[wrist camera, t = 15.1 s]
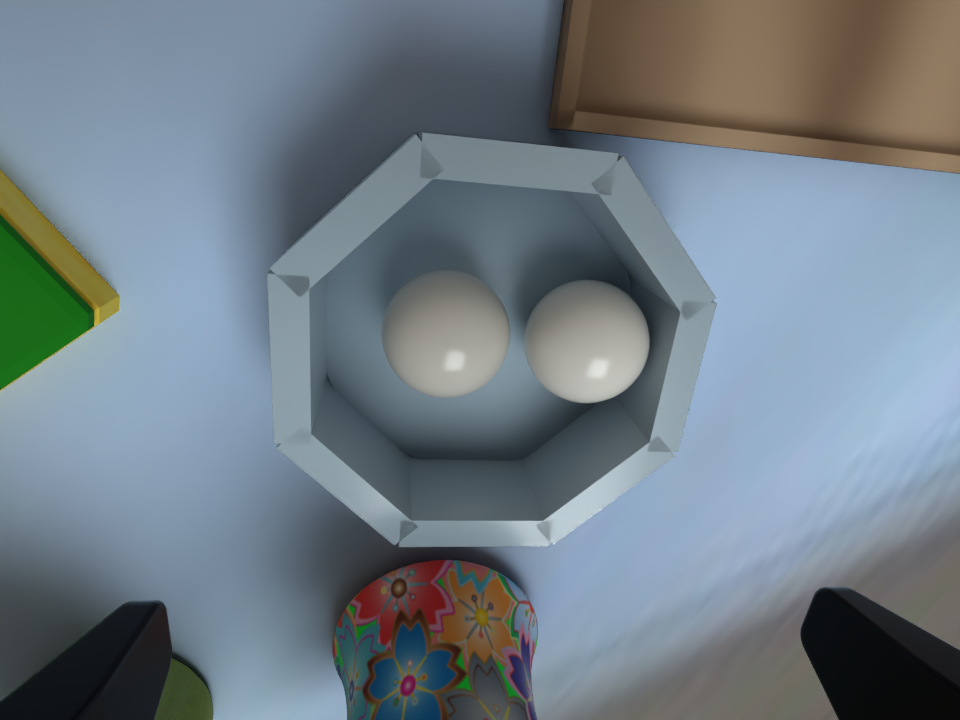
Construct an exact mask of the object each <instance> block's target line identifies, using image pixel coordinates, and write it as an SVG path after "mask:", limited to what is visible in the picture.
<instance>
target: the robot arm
mask: <svg viewBox="0 0 960 720" xmlns="http://www.w3.org/2000/svg"><path fill="white" fill-rule="evenodd" d="M800 635H801V641H802V645H803V647H804V649H805V651H806V653H807V655H808V657H809V659H810V662H811V664H812V666H813V668H814V670H815V672H816V674H817V676H818V678H819V680H820V682H821V684H822V686H823V688H824V690H825V692H826V694H827V696H828V698H829V701H830V703H831V705H832V707H833V709H834V711H835V713H836V715H837V717H838V719H839V720H960V650H958V649H957V648H955V647H953V646H951V645H950V644H948V643H946V642H944V641H942V640H941V639H939V638H937V637H935V636H934V635H932V634H930V633H928V632H927V631H925V630H923V629H921V628H920V627H918V626H916V625H914V624H913V623H911V622H909V621H907V620H905V619H904V618H902V617H900V616H898V615H897V614H895V613H893V612H891V611H890V610H888V609H886V608H884V607H883V606H881V605H879V604H877V603H876V602H874V601H872V600H870V599H868V598H867V597H865V596H863V595H861V594H860V593H858V592H856V591H854V590H852V589H850V588H847V587H823V588H820V589H819V590H817V591H816V592H815V594H814V596H813V599H812V601H811V604H810V606H809V609H808V611H807V613H806V616H805V618H804V621H803V623H802V626H801V631H800ZM171 658H172V646H171V639H170V631H169V624H168V617H167V610H166V607H165V605H164V603H163V602H161V601H157V600H156V601H130V602H127V603H125V604H123V605H121V606H120V607H119V608H117V609H116V610H115V611H113V612H112V613H111V614H110V615H108V616H107V617H106V618H105V619H103V620H102V621H101V622H100V623H98V624H97V625H96V626H95V627H93V628H92V629H91V630H90V631H88V632H87V633H86V634H85V635H83V636H82V637H81V638H80V639H78V640H77V641H76V642H74V643H73V644H72V645H71V646H69V647H68V648H67V649H66V650H64V651H63V652H62V653H61V654H59V655H58V656H57V657H56V658H54V659H53V660H52V661H51V662H49V663H48V664H47V665H46V666H44V667H43V668H42V669H40V670H39V671H38V672H37V673H35V674H34V675H33V676H32V677H30V678H29V679H28V680H27V681H25V682H24V683H23V684H22V685H20V686H19V687H18V688H17V689H15V690H14V691H13V692H12V693H10V694H9V695H8V696H6V697H5V698H4V699H3V700H1V701H0V720H154V719H155V715H156V712H157V709H158V706H159V702H160V699H161V696H162V692H163V689H164V686H165V682H166V679H167V676H168V672H169V669H170V664H171Z"/></svg>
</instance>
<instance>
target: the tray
mask: <svg viewBox="0 0 960 720" xmlns="http://www.w3.org/2000/svg"><path fill="white" fill-rule="evenodd" d="M548 128H552V129H562V130H571V131H580V132H589V133H598V134H607V135H616V136H625V137H634V138H643V139H652V140H661V141H670V142H679V143H688V144H697V145H706V146H715V147H724V148H733V149H742V150H751V151H760V152H769V153H778V154H787V155H796V156H805V157H814V158H823V159H832V160H841V161H850V162H859V163H868V164H878V165H887V166H896V167H905V168H914V169H923V170H932V171H941V172H950V173H959V174H960V0H564V7H563V15H562V23H561V30H560V38H559V45H558V53H557V61H556V68H555V76H554V83H553V91H552V98H551V106H550V114H549V121H548Z"/></svg>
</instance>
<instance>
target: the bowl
mask: <svg viewBox="0 0 960 720" xmlns="http://www.w3.org/2000/svg"><path fill="white" fill-rule="evenodd" d="M270 269H271V270H270V271H269V272H268V273H267V285H268V309H269V334H270V358H271V382H272V407H273V431H274V444H278V446H277V449H278V450H279V451H280V452H282V453H283V454H284V455H285V456H286V457H288V458H289V459H290V460H291V461H293V462H294V463H295V464H296V465H297V466H299V467H300V468H301V469H302V470H303V471H305V472H306V473H307V474H308V475H309V476H311V477H312V478H313V479H314V480H316V481H317V482H318V483H319V484H320V485H322V486H323V487H324V488H325V489H326V490H328V491H329V492H330V493H331V494H332V495H334V496H335V497H336V498H337V499H339V500H340V501H341V502H342V503H343V504H345V505H346V506H347V507H348V508H349V509H351V510H352V511H353V512H354V513H355V514H357V515H358V516H359V517H360V518H362V519H363V520H364V521H365V522H366V523H368V524H369V525H370V526H371V527H372V528H374V529H375V530H376V531H377V532H378V533H380V534H381V535H382V536H383V537H385V538H386V539H387V540H388V541H389V542H391V543H392V544H393V545H396V544H397V543H398V542H399V547H508V546H549V542H551V543H552V544H553V545H554V544H555V543H556V542H558V541H559V540H561V539H562V538H563V537H565V536H566V535H567V534H569V533H570V532H572V531H573V530H574V529H576V528H577V527H578V526H580V525H581V524H583V523H584V522H585V521H587V520H588V519H589V518H591V517H592V516H594V515H595V514H596V513H598V512H599V511H600V510H602V509H603V508H605V507H606V506H607V505H609V504H610V503H611V502H613V501H614V500H616V499H617V498H618V497H620V496H621V495H622V494H624V493H625V492H627V491H628V490H629V489H631V488H632V487H633V486H635V485H636V484H637V483H639V482H640V481H642V480H643V479H644V478H646V477H647V476H648V475H650V474H651V473H653V472H654V471H655V470H657V469H658V468H659V467H661V466H662V465H664V464H665V463H666V462H668V461H669V460H670V459H672V458H673V457H675V456H674V454H673V453H672V452H678V450H679V446H680V442H681V438H682V434H683V430H684V427H685V423H686V419H687V415H688V411H689V407H690V404H691V400H692V396H693V392H694V388H695V385H696V381H697V377H698V373H699V369H700V365H701V362H702V358H703V354H704V350H705V346H706V343H707V339H708V335H709V331H710V327H711V323H712V320H713V316H714V312H715V308H716V304H717V303H716V302H714V301H713V300H714V299H715V298H716V297H715V295H714V294H713V292H712V291H711V289H710V288H709V286H708V285H707V283H706V282H705V280H704V279H703V277H702V275H701V274H700V272H699V271H698V269H697V268H696V266H695V265H694V263H693V262H692V260H691V259H690V257H689V256H688V254H687V253H686V251H685V249H684V248H683V246H682V245H681V243H680V242H679V240H678V239H677V237H676V236H675V234H674V233H673V231H672V230H671V228H670V227H669V225H668V223H667V222H666V220H665V219H664V217H663V216H662V214H661V213H660V211H659V210H658V208H657V207H656V205H655V204H654V202H653V201H652V199H651V198H650V196H649V194H648V193H647V191H646V190H645V188H644V187H643V185H642V184H641V182H640V181H639V179H638V178H637V176H636V175H635V173H634V172H633V170H632V168H631V167H630V165H629V164H628V162H627V161H626V159H625V158H624V156H618V153H612V152H602V151H593V150H584V149H575V148H565V147H556V146H546V145H537V144H527V143H518V142H508V141H499V140H490V139H480V138H471V137H461V136H452V135H442V134H433V133H423V132H418V136H417V135H416V134H412V135H411V136H410V137H409V138H408V139H407V140H406V141H405V142H404V143H403V144H401V145H400V146H399V147H398V148H397V149H396V150H395V151H394V152H393V153H392V154H390V155H389V156H388V157H387V158H386V159H385V160H384V161H383V162H382V163H381V164H379V165H378V166H377V167H376V168H375V169H374V170H373V171H372V172H371V173H370V174H369V175H367V176H366V177H365V178H364V179H363V180H362V181H361V182H360V183H359V184H358V185H356V186H355V187H354V188H353V189H352V190H351V191H350V192H349V193H348V194H347V195H345V196H344V197H343V198H342V199H341V200H340V201H339V202H338V203H337V204H336V205H335V206H333V207H332V208H331V209H330V210H329V211H328V212H327V213H326V214H325V215H324V216H322V217H321V218H320V219H319V220H318V221H317V222H316V223H315V224H314V225H313V226H312V227H310V228H309V229H308V230H307V231H306V232H305V233H304V234H303V235H302V236H301V237H299V238H298V239H297V240H296V241H295V242H294V243H293V244H292V245H291V246H290V247H289V249H288V250H287V251H286V252H285V253H284V254H283V255H282V256H281V257H280V258H279V259H278V260H277V261H276V262H275V263H274V264H273V265H272V266H271V267H270ZM442 269H450V270H458V271H462V272H466V273H468V274H471V275H473V276H475V277H477V278H479V279H481V280H482V281H483V282H485V283H486V284H487V285H488V286H490V287H491V288H492V289H493V290H494V292H495V293H496V294H497V295H498V297H499V298H500V300H501V301H502V303H503V305H504V307H505V309H506V312H507V315H508V319H509V324H510V344H509V348H508V352H507V355H506V358H505V360H504V362H503V364H502V366H501V368H500V369H499V371H498V372H497V373H496V375H495V376H494V377H493V378H492V379H491V380H490V381H489V382H488V383H486V384H485V385H484V386H483V387H481V388H479V389H478V390H476V391H474V392H472V393H469V394H466V395H463V396H459V397H452V398H440V397H433V396H429V395H426V394H423V393H420V392H418V391H416V390H414V389H413V388H411V387H410V386H408V385H407V384H406V383H404V382H403V381H402V380H401V379H400V378H399V377H398V376H397V375H396V374H395V372H394V371H393V369H392V368H391V366H390V364H389V362H388V360H387V358H386V356H385V352H384V349H383V344H382V335H381V332H382V322H383V318H384V314H385V311H386V309H387V307H388V304H389V302H390V301H391V299H392V298H393V296H394V295H395V293H396V292H397V291H398V290H399V289H400V288H401V287H402V286H403V285H404V284H405V283H407V282H408V281H410V280H411V279H413V278H414V277H416V276H418V275H420V274H423V273H426V272H429V271H434V270H442ZM577 280H598V281H603V282H606V283H609V284H612V285H614V286H616V287H618V288H620V289H621V290H623V291H624V292H626V293H627V294H628V295H629V296H630V297H631V298H632V299H633V300H634V301H635V302H636V303H637V304H638V306H639V307H640V309H641V311H642V312H643V314H644V317H645V319H646V321H647V325H648V328H649V336H650V347H649V353H648V357H647V361H646V363H645V366H644V368H643V370H642V371H641V373H640V375H639V376H638V378H637V379H636V380H635V381H634V383H633V384H632V385H630V386H629V387H628V388H627V389H626V390H625V391H623V392H622V393H620V394H618V395H617V396H615V397H613V398H610V399H608V400H604V401H600V402H595V403H578V402H572V401H569V400H565V399H563V398H561V397H558V396H556V395H555V394H553V393H551V392H550V391H549V390H547V389H546V388H545V387H544V386H543V385H542V384H541V383H540V382H539V381H538V380H537V379H536V377H535V376H534V374H533V373H532V371H531V369H530V367H529V365H528V362H527V359H526V355H525V349H524V335H525V328H526V324H527V322H528V319H529V317H530V314H531V313H532V311H533V309H534V308H535V306H536V305H537V304H538V302H539V301H540V300H541V299H542V298H543V297H544V296H545V295H546V294H547V293H549V292H550V291H552V290H553V289H555V288H557V287H559V286H561V285H563V284H565V283H568V282H572V281H577Z"/></svg>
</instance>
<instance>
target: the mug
mask: <svg viewBox="0 0 960 720" xmlns="http://www.w3.org/2000/svg"><path fill="white" fill-rule="evenodd" d="M537 638H538V625H537V619H536V615H535V612H534V609H533V607H532V605H531V603H530V601H529V600H528V598H527V597H526V595H525V594H524V592H523V591H522V590H521V589H520V588H519V587H518V586H517V585H516V584H515V583H514V582H513V581H511V580H510V579H508V578H507V577H506V576H504V575H502V574H500V573H499V572H497V571H494V570H492V569H490V568H488V567H485V566H482V565H479V564H475V563H471V562H465V561H458V560H434V561H425V562H419V563H415V564H411V565H407V566H404V567H401V568H398V569H396V570H394V571H391V572H389V573H387V574H385V575H383V576H381V577H380V578H378V579H377V580H375V581H373V582H372V583H370V584H369V585H368V586H366V587H365V588H364V589H363V590H361V591H360V592H359V593H358V594H357V595H356V596H355V597H354V598H353V599H352V601H351V602H350V603H349V604H348V606H347V607H346V608H345V610H344V612H343V613H342V615H341V617H340V619H339V621H338V624H337V626H336V629H335V633H334V637H333V658H334V663H335V667H336V670H337V672H338V675H339V677H340V679H341V680H342V683H343V686H344V690H345V695H346V703H347V720H537V717H536V712H535V707H534V701H533V694H532V684H531V668H532V660H533V656H534V653H535V649H536V645H537Z"/></svg>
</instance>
